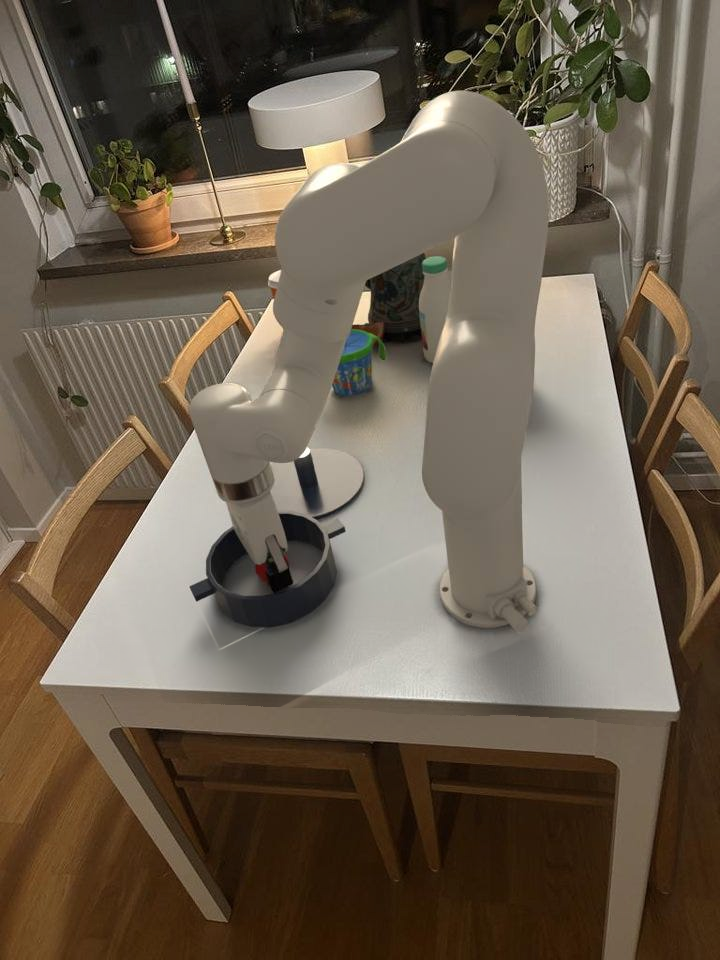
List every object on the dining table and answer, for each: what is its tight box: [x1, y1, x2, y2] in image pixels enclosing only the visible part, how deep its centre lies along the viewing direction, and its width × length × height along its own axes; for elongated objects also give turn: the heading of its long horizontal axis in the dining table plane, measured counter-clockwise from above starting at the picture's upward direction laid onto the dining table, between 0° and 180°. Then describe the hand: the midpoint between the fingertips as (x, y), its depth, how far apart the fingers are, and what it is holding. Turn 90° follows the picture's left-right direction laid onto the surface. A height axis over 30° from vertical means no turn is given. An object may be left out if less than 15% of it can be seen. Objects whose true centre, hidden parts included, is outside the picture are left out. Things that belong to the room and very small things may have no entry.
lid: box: [270, 447, 365, 520], centre depth 120 cm, size 18×18×7 cm
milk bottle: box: [419, 255, 451, 364], centre depth 143 cm, size 8×8×20 cm
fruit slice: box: [351, 322, 385, 347], centre depth 156 cm, size 8×7×5 cm
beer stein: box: [364, 252, 427, 344], centre depth 154 cm, size 16×19×25 cm
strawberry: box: [254, 550, 290, 587], centre depth 104 cm, size 5×5×6 cm
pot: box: [189, 511, 347, 629], centre depth 104 cm, size 17×23×6 cm
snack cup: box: [332, 329, 387, 397], centre depth 141 cm, size 16×11×10 cm
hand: (275, 575), depth 105 cm, fingers closed on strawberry, 4 cm apart
